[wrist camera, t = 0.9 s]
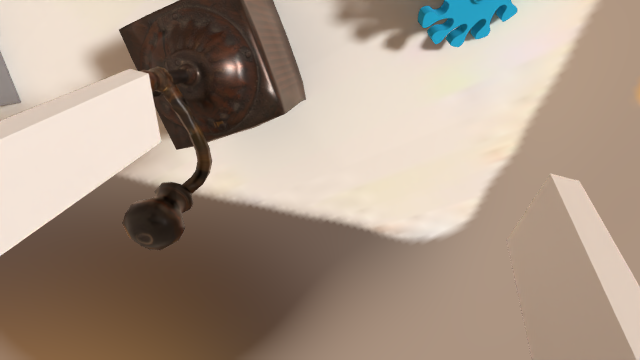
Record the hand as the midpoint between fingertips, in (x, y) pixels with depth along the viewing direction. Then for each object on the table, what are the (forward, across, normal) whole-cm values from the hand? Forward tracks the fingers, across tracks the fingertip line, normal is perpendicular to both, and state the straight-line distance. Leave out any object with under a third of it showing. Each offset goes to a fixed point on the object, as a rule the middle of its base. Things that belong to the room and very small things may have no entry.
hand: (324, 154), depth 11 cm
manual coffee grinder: (+21, -13, -9) cm, 26 cm away
